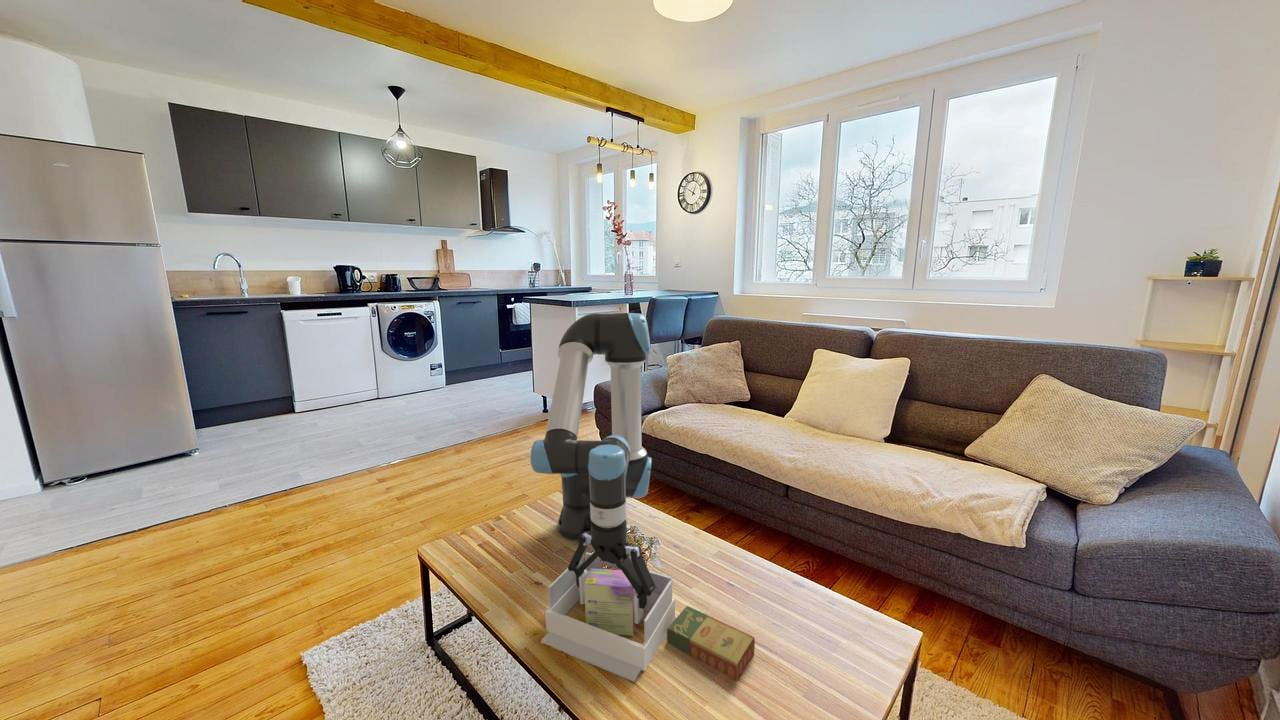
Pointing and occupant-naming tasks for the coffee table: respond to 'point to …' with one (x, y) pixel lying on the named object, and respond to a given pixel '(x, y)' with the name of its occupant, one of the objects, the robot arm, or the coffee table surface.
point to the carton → (711, 642)
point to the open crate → (599, 643)
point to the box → (610, 601)
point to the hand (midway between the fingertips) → (611, 609)
